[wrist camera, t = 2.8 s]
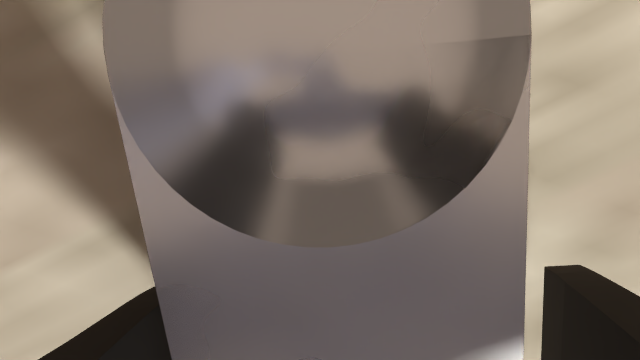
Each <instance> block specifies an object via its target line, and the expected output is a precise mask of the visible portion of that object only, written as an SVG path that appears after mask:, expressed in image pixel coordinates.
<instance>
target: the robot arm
mask: <svg viewBox="0 0 640 360" xmlns="http://www.w3.org/2000/svg"><path fill="white" fill-rule="evenodd" d="M38 360H172V358H171V354H170V349H169V345H168V340H167V336H166V331H165V327H164V323H163V318H162V314H161V309H160V305H159V300H158V296H157V291H156V287H153V288H151V289H149V290H147V291H145V292H143V293H141V294H140V295H138V296H137V297H135V298H133V299H132V300H130V301H129V302H127V303H125V304H124V305H122V306H121V307H119V308H118V309H116V310H115V311H113V312H112V313H110V314H109V315H107V316H106V317H104V318H103V319H101V320H100V321H98V322H97V323H95V324H94V325H92V326H90V327H89V328H87V329H86V330H84V331H83V332H81V333H80V334H78V335H77V336H75V337H74V338H72V339H71V340H69V341H68V342H66V343H64V344H63V345H61V346H60V347H58V348H56V349H55V350H53V351H51V352H50V353H48V354H46V355H45V356H43V357H42V358H40V359H38ZM541 360H640V297H639V296H638V295H636V294H634V293H632V292H630V291H629V290H627V289H625V288H623V287H622V286H620V285H618V284H616V283H614V282H613V281H611V280H609V279H607V278H605V277H603V276H602V275H600V274H598V273H596V272H594V271H592V270H590V269H588V268H586V267H583V266H581V265H568V266H548V267H545V270H544V297H543V324H542V351H541Z"/></svg>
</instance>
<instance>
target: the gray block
mask: <svg viewBox="0 0 640 360" xmlns="http://www.w3.org/2000/svg"><path fill="white" fill-rule="evenodd" d="M103 45H104V53H105V59H106V65H107V71H108V77H109V81H110V86H111V90H112V95H113V99H114V103H115V108H116V112H117V117H118V121H119V126H120V130H121V135H122V139H123V144H124V148H125V153H126V157H127V162H128V166H129V171H130V175H131V179H132V184H133V188H134V193H135V197H136V202H137V206H138V211H139V215H140V220H141V224H142V229H143V233H144V238H145V242H146V247H147V251H148V255H149V260H150V264H151V269H152V273H153V278H154V282H155V287H156V291H157V296H158V300H159V305H160V309H161V314H162V318H163V323H164V327H165V331H166V336H167V340H168V345H169V349H170V354H171V358H172V360H524V319H525V278H526V238H527V197H528V156H529V116H530V75H531V11H530V0H104V8H103Z"/></svg>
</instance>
